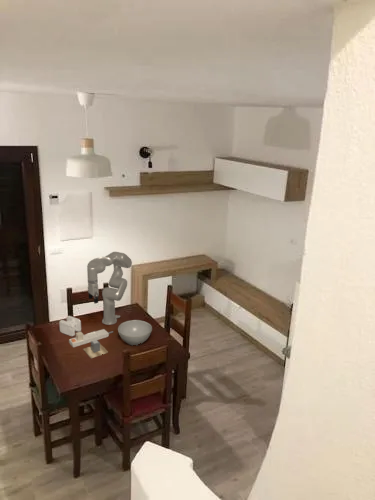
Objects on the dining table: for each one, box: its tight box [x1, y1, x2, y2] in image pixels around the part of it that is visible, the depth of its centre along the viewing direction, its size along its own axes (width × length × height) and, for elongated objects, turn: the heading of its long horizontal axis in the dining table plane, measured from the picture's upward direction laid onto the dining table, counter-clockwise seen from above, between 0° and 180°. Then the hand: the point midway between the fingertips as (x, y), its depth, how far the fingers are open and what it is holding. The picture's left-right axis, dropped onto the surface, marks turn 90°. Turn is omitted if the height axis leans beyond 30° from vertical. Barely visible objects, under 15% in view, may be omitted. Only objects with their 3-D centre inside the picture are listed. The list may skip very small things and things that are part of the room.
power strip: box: [68, 328, 114, 348], centre depth 325 cm, size 36×8×8 cm, turn 127°
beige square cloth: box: [82, 343, 109, 359], centre depth 310 cm, size 14×14×1 cm
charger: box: [90, 340, 101, 353], centre depth 308 cm, size 5×5×8 cm
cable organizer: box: [58, 315, 82, 337], centre depth 332 cm, size 15×11×12 cm
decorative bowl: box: [117, 319, 153, 346], centre depth 324 cm, size 27×27×12 cm
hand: (93, 300), depth 324 cm, fingers open, 9 cm apart
